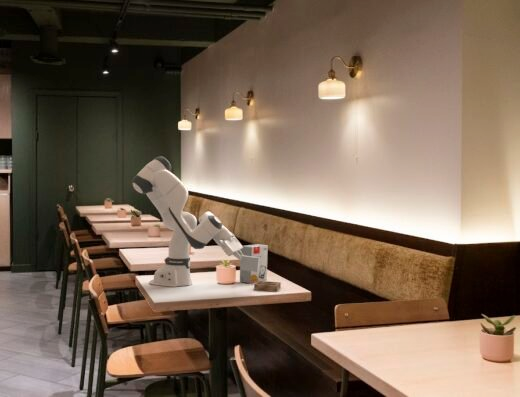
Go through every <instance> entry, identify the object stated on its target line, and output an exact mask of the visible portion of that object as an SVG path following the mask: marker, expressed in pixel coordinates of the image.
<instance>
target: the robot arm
mask: <svg viewBox="0 0 520 397" xmlns="http://www.w3.org/2000/svg"><path fill="white" fill-rule="evenodd" d="M131 185H132V187H133V189H134V190H135V191H136V192H138V193H139V194H142V195H146V196H147V197H148V199H149V201H150V202H151V203H152V204H153V205H154V207H155V208H156V210H157V212H158V213H159V214H160V217H161V219H162V223H163V225H164V227H166V228H167V229H169V230H171V231H172V234H171V235H172V236H171V239H170V240H169V242H168V256H167V257H166V258H165V259H163V260H164V264H163V265H162V266H161V267H159V268H158V269H156V271H155V272H154V274H153V279H150V281H149V282H148V283H149V285H154V286H163V287H170V288H171V287H182V286H183V287H185V286H190V285H192V284H193V282H192V278H191V270H190V269H191V257H190V251H191V250H190V248H191V247H192V249H195V250H203V249H204V248H205V247H206V246H207V244H208V243H209V242H210V241H211V240H213V241H215V242H214V243H216V244H217V245H218V246H219V247H220V248H221V250H222V251H223V252H224V253H225V254H226V255H227V256H228V257H232V256H234V257H235V258H237V260H239V261H241V260H242V259H243V258H242V255H243V254H242V252H241V249H242V248H243V247H242V246H243V245H242V243H241V242H240V241H239V240H238V238H237V237H236V236H235V234H234V232H231V231H230V230H229V229H228V228H227V227H226V226H224V224H223V221H222V220H221V219H220V218H219V217H218V216H217V215H215V214H214V213H212V212H211V211H205V212H204V213H202V214H201V215H200V216H199V218H198V220H197V218H196V216H195V215H194V214H192V213H190V212H188V211H184V208H185V205H186V203H187V201H188V199H189V189H188V188H187V186H186V184H185V183H184V182H182V181H181V179H180V178H179V177H178V176H176V175H175V174H174V173H173V172H172V165H171V163H170V161H169V160H168V159H167V158H166V157H164V156H161V155H159V156H156V157H155V158H153V159H152V161H150V162H148V163H147V164H145V166H144V167H143V168H142V169H141V170H140V171H139V172H138V173H137V174H136V175H134V177H133V178H132V180H131ZM198 222H199V223H198ZM190 246H191V247H190Z"/></svg>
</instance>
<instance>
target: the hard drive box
mask: <svg viewBox="0 0 520 397" xmlns="http://www.w3.org/2000/svg"><path fill="white" fill-rule="evenodd" d="M242 247H243V248H242V249H241V250H240V251H241V252H242V254H243V255H245V256H253V257H260V261H259V271H258V272H253V271H246V270H240V269H239V282H240V283H241V282H242V283H246V284H247V283H248V284H255V283H256V282H258V281H267V280H268V279H267V277H268V276H267V275H268V255H269V254H268V250H269V246H268V245H267V244H248V245H242ZM239 261H240V262H241V260H239Z"/></svg>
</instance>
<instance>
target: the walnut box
mask: <svg viewBox="0 0 520 397" xmlns="http://www.w3.org/2000/svg"><path fill="white" fill-rule="evenodd" d="M281 284H282V282H280V281H279V282H278V281H267V280H265V281H258V282H255V283H253V287H254V288H253V290H254V291H264V292H279V290H280V289H281Z"/></svg>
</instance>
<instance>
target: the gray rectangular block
mask: <svg viewBox="0 0 520 397" xmlns="http://www.w3.org/2000/svg"><path fill="white" fill-rule="evenodd" d="M242 258H243V259H242V260H240V261H241V262H240V263H239V271H240V270H246V271H253V272H258V271H259V261H260V257H253V256H245V255H242Z"/></svg>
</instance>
